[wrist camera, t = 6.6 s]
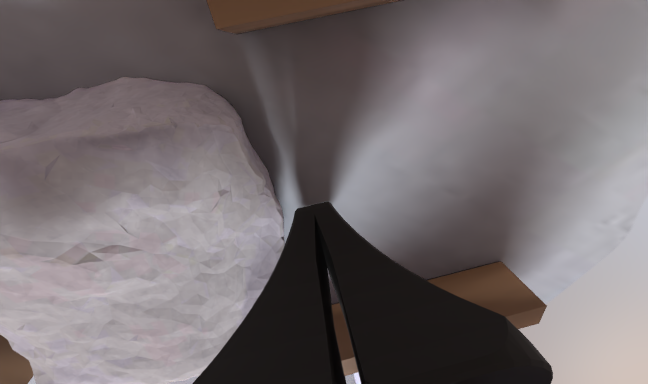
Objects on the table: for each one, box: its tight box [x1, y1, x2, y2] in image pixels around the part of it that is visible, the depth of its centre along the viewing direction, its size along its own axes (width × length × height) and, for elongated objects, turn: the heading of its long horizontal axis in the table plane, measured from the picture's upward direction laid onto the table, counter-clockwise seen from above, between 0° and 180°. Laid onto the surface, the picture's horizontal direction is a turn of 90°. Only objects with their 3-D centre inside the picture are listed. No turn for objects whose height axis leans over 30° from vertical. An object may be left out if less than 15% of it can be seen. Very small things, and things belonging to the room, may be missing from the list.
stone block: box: [0, 77, 285, 384], centre depth 10 cm, size 12×5×10 cm
